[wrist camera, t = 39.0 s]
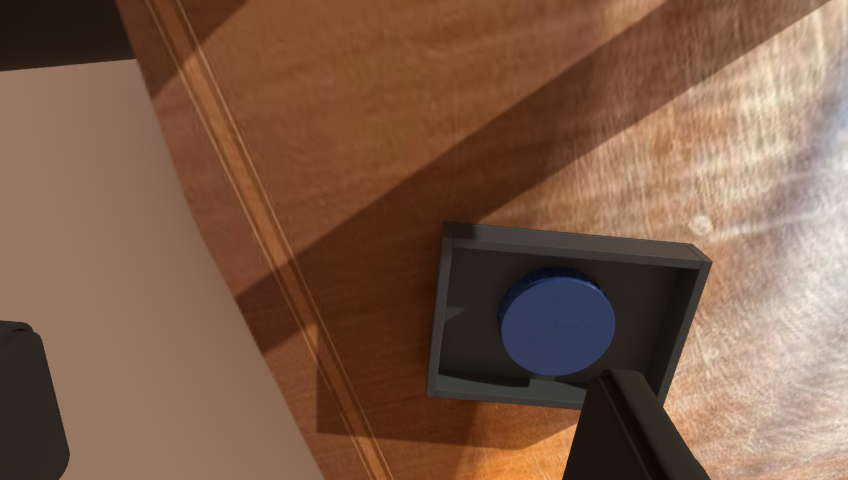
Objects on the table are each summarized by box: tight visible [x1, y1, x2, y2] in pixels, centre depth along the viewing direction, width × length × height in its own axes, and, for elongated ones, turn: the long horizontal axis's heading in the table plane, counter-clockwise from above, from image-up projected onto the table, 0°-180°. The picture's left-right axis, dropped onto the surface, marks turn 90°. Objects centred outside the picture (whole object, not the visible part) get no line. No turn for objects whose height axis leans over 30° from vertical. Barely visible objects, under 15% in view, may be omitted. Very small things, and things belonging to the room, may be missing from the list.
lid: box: [497, 267, 615, 376], centre depth 31 cm, size 7×7×2 cm
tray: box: [426, 222, 713, 410], centre depth 31 cm, size 15×11×2 cm
